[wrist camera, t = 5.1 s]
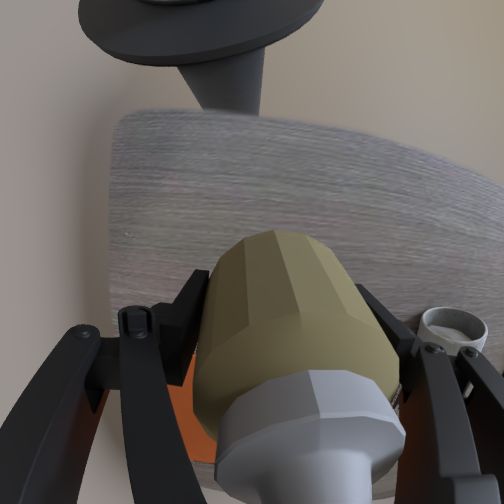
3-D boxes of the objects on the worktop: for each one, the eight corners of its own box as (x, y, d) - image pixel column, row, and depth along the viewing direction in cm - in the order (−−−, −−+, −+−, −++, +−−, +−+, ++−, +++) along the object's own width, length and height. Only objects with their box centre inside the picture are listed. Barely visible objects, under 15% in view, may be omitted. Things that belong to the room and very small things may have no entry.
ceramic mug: (393, 376, 26) (424, 419, 18) (407, 310, 24) (450, 346, 17) (460, 357, 26) (493, 388, 19) (475, 297, 24) (517, 322, 17)
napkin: (154, 347, 25) (153, 349, 25) (355, 363, 26) (356, 365, 25) (167, 453, 29) (166, 455, 28) (315, 463, 29) (316, 465, 29)
